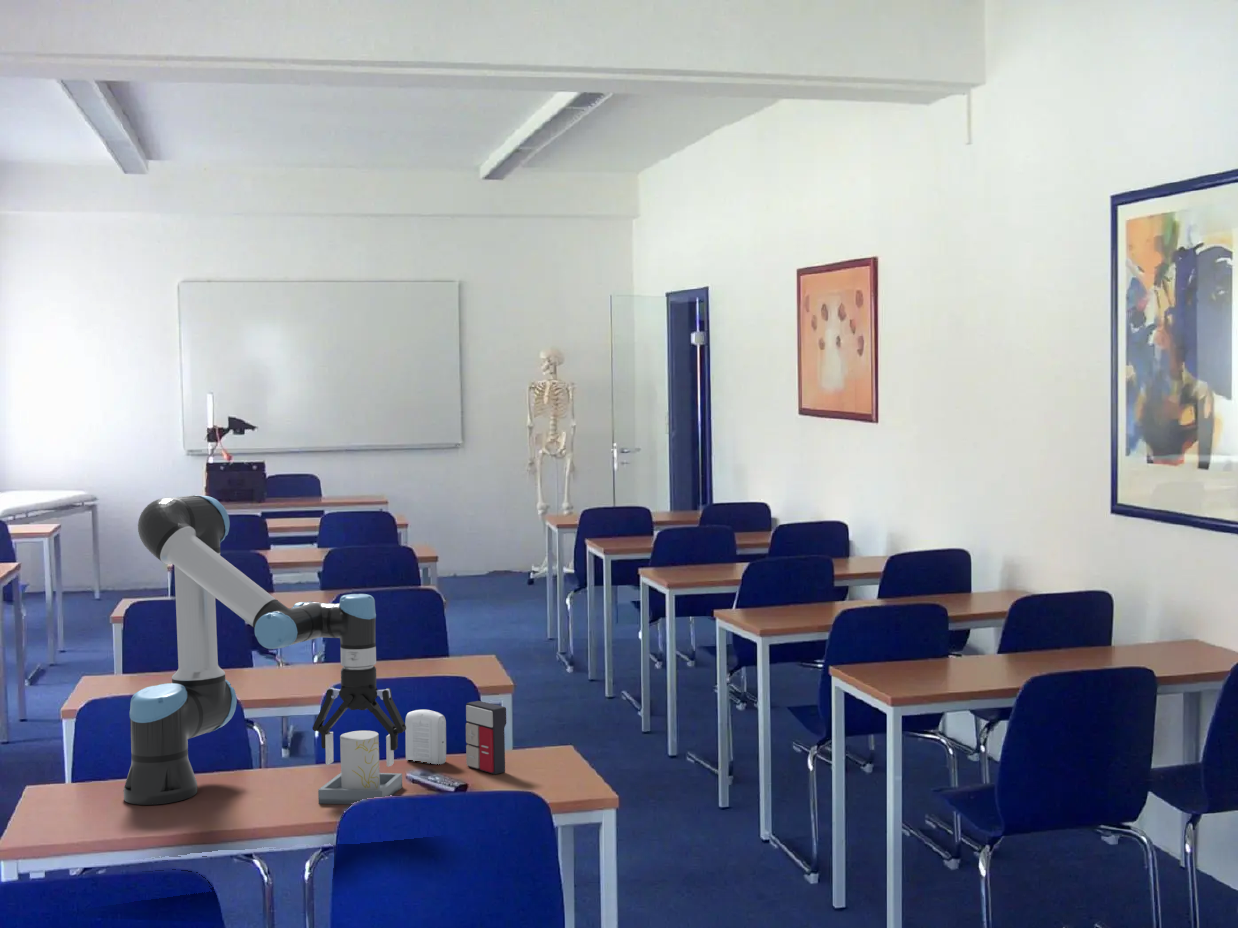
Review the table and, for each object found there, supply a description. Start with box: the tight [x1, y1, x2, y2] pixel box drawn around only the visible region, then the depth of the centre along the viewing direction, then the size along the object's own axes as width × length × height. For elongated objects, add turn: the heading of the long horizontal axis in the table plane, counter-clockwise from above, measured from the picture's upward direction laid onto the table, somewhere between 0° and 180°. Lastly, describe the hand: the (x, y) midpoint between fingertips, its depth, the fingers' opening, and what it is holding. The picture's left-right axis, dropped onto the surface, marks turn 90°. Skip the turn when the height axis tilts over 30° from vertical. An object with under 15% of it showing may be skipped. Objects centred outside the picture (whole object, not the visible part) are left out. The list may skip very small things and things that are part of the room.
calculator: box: [465, 700, 507, 775], centre depth 301 cm, size 11×4×15 cm, turn 42°
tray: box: [317, 772, 403, 805], centre depth 281 cm, size 14×14×3 cm
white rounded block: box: [404, 709, 447, 766], centre depth 309 cm, size 10×4×12 cm, turn 64°
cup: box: [339, 730, 381, 790], centre depth 281 cm, size 8×8×12 cm
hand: (359, 764), depth 281 cm, fingers open, 13 cm apart
